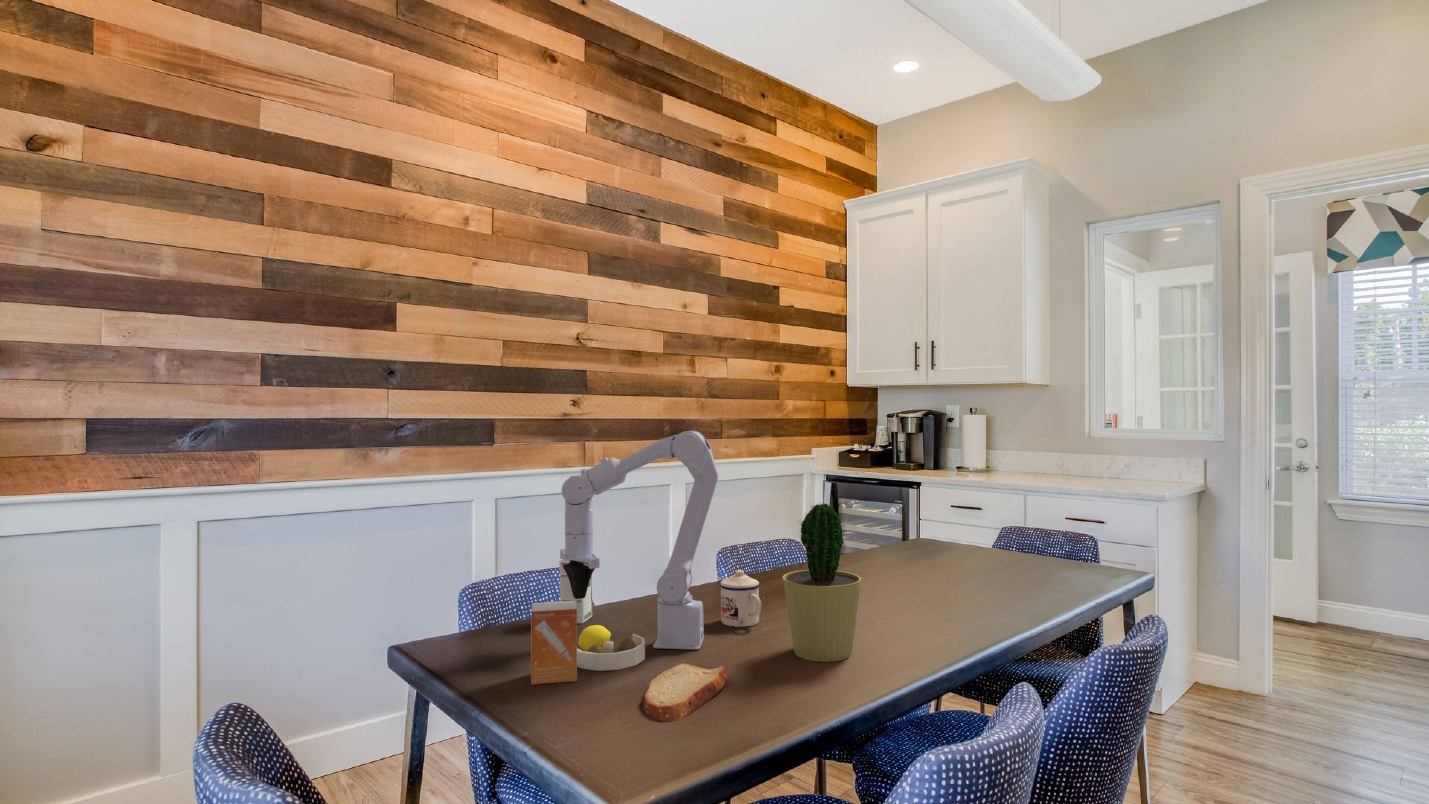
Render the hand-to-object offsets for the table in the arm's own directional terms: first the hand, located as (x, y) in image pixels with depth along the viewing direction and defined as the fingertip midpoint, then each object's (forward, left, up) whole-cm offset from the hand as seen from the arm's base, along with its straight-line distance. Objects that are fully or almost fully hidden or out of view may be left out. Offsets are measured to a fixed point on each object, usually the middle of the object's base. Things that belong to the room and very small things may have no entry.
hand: (579, 597), depth 154 cm
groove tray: (-9, +9, -9) cm, 16 cm away
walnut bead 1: (-7, +13, -9) cm, 17 cm away
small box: (-1, +21, -10) cm, 23 cm away
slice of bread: (-27, +26, -10) cm, 39 cm away
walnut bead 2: (-12, +8, -9) cm, 17 cm away
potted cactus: (-50, +2, -10) cm, 51 cm away
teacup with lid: (-33, -17, -10) cm, 38 cm away
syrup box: (+6, -17, -10) cm, 20 cm away
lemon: (-5, +6, -10) cm, 12 cm away
